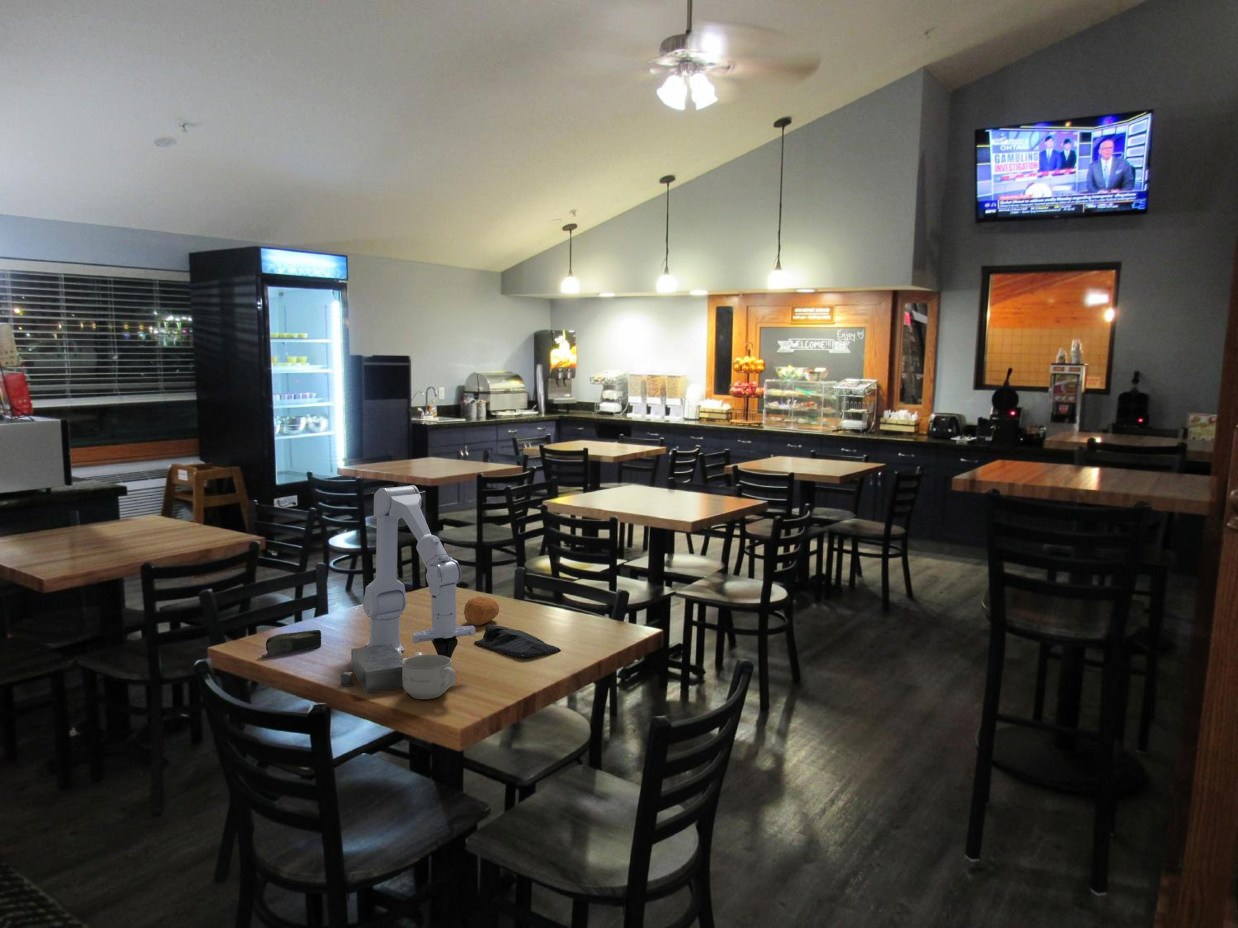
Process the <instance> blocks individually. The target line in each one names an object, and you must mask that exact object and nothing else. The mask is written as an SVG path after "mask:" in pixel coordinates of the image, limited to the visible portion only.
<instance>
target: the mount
mask: <svg viewBox="0 0 1238 928" xmlns="http://www.w3.org/2000/svg"><path fill="white" fill-rule="evenodd" d="M350 652H351V653H350V655H351V670H352V672H353V674H354V675H355V676H356V679H357V680H358V682H359V683H360V685H361V687H362V689H363V690H364V692H365V693H366V694H371V693H376V692H377V693H378V692H384V691H390V690H396V689H402V688H403V689H404V687H403V680H402V667H403V666H402V661H403V660H404V659H403V656H402V657H401V655H400V654H399V653H398V652H397V650H396V649H395V648H394V647H393V645H392V644H384V645H377V646H369V647H367V646H362V647H355V648H351V651H350Z"/></svg>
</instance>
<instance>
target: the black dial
mask: <svg viewBox="0 0 1238 928" xmlns="http://www.w3.org/2000/svg"><path fill="white" fill-rule="evenodd" d="M339 676H340V686H341V687H351V686H352V685H354V672H353V671H344V672H342V673H340V675H339Z"/></svg>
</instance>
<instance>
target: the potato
mask: <svg viewBox="0 0 1238 928" xmlns="http://www.w3.org/2000/svg"><path fill="white" fill-rule="evenodd" d="M499 612H500V606H499V604H498V603H497V602H496V600H494V599H492V598H490V597H484V596H479V595H478V596H475V597H472V598H471V599H468V600H467V601H466V602H465V605H464V609H463V615H464V619H465V621H466V622H467V623H469V624H471V626H475V627H476V626H481V625H483V624H486V623H488V622H491V621H492V620H493V619H495V618H496V617H497V616H498V615H499Z"/></svg>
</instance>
